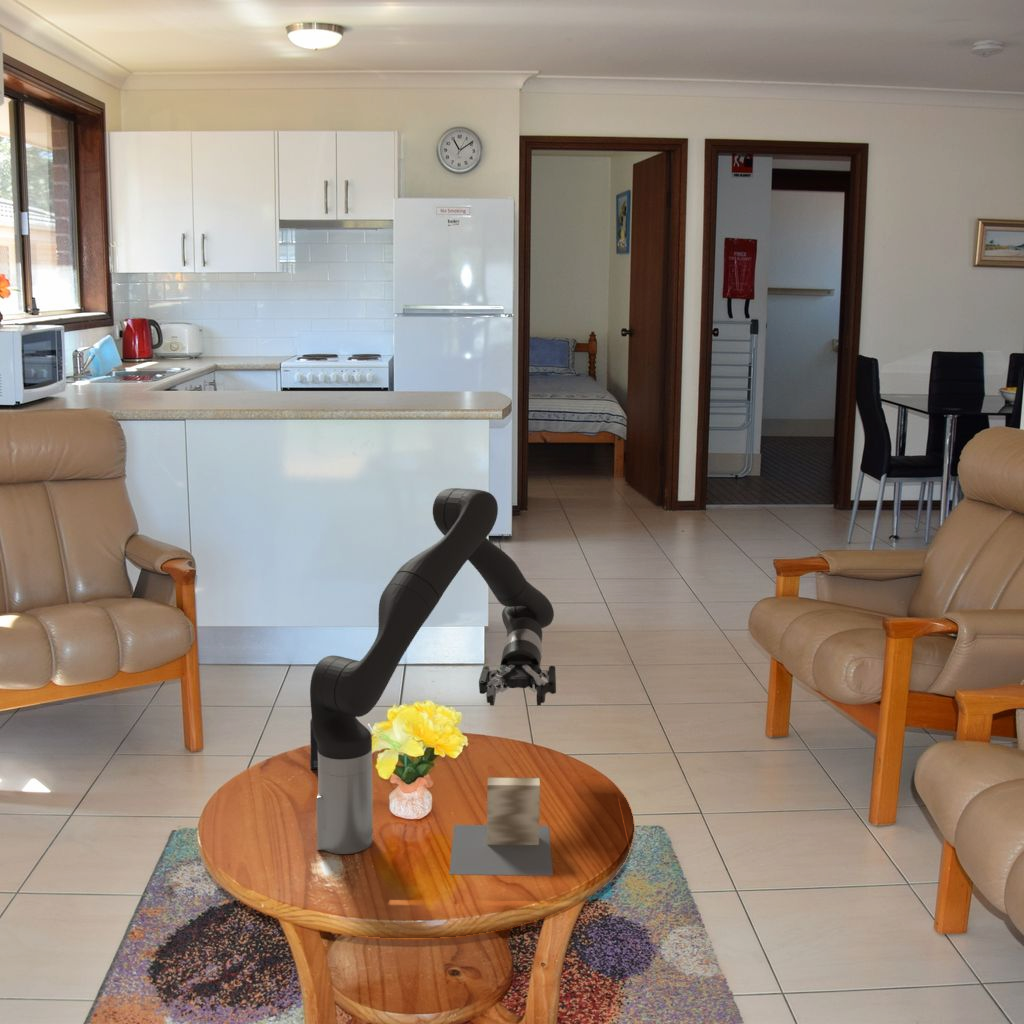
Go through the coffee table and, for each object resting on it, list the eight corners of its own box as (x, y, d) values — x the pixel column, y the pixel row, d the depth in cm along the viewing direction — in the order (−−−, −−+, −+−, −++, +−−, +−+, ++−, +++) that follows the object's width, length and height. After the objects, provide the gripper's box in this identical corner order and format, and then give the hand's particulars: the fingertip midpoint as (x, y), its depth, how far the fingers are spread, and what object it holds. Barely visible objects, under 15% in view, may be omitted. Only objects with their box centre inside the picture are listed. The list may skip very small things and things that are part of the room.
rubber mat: (449, 877, 191) (449, 874, 191) (454, 827, 209) (454, 824, 209) (552, 878, 191) (552, 875, 191) (548, 828, 209) (548, 825, 209)
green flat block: (486, 844, 201) (487, 785, 199) (487, 836, 204) (487, 777, 202) (538, 845, 201) (540, 785, 199) (538, 836, 205) (539, 777, 202)
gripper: (484, 639, 224) (474, 683, 210) (557, 638, 223) (553, 683, 208) (486, 672, 227) (477, 719, 213) (559, 672, 226) (555, 719, 211)
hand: (515, 701), depth 210 cm, fingers open, 8 cm apart
